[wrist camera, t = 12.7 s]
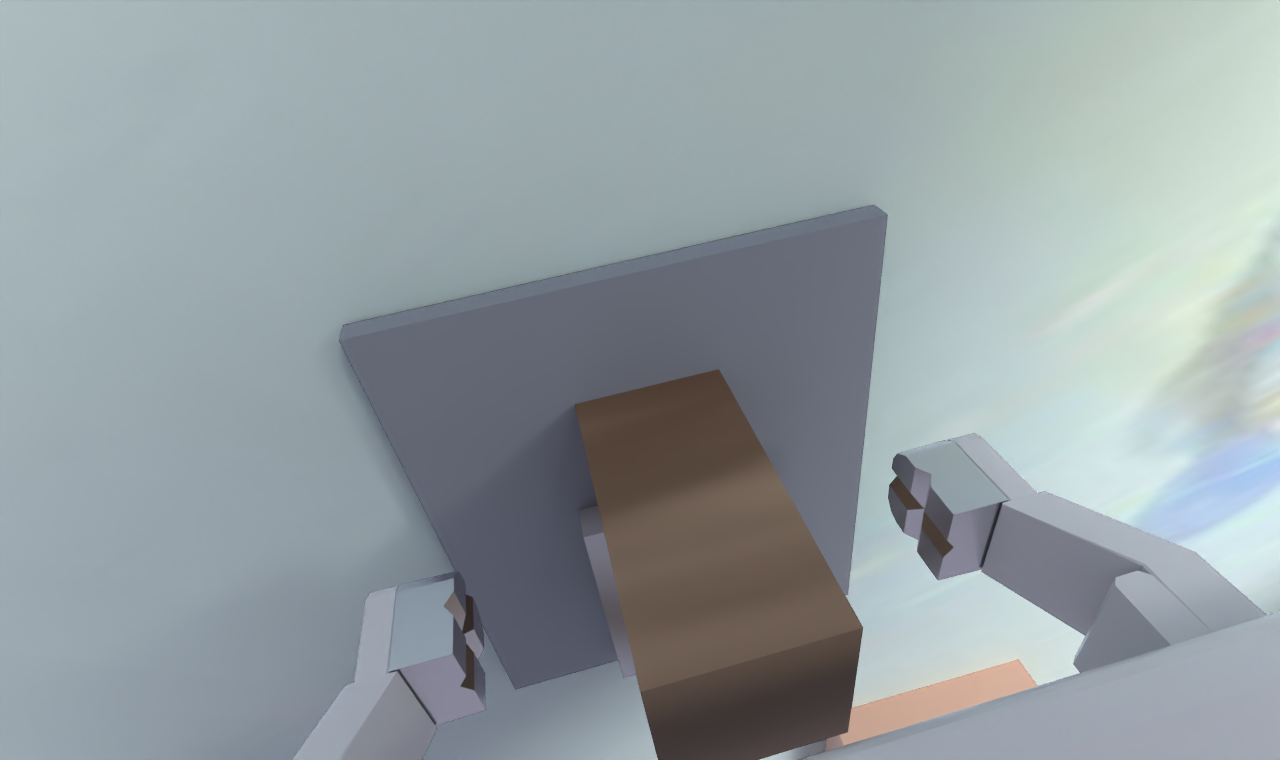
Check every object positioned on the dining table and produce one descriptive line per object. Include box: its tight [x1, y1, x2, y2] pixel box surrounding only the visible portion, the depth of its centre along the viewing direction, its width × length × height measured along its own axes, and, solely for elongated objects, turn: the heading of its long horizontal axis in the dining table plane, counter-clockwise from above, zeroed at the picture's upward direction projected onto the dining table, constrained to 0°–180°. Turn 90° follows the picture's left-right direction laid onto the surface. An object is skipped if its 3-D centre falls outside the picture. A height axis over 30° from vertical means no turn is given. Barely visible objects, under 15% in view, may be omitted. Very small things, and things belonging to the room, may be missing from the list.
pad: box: [339, 205, 888, 689], centre depth 15 cm, size 12×10×1 cm
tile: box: [825, 660, 1038, 751], centre depth 28 cm, size 2×8×9 cm
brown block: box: [575, 369, 863, 760], centre depth 13 cm, size 9×4×6 cm, turn 9°
